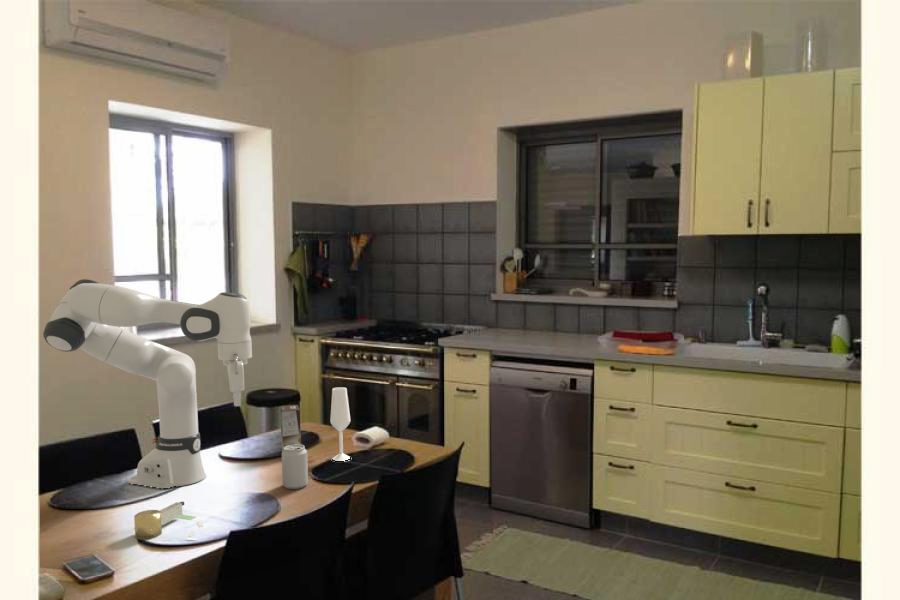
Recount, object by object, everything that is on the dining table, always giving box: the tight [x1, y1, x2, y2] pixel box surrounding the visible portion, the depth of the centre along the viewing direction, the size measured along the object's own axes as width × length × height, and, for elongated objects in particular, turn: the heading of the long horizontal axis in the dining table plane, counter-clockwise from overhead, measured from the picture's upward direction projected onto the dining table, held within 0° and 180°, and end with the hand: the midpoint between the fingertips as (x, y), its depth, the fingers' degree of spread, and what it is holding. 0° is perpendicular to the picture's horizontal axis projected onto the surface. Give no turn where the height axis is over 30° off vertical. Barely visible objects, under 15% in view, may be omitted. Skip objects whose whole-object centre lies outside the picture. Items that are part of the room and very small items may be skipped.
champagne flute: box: [329, 386, 351, 462], centre depth 233 cm, size 7×7×24 cm
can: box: [281, 444, 309, 490], centre depth 207 cm, size 8×8×12 cm
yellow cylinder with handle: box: [133, 501, 185, 540], centre depth 173 cm, size 15×6×5 cm, turn 161°
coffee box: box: [279, 404, 302, 453], centre depth 241 cm, size 9×6×16 cm
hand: (237, 402), depth 189 cm, fingers open, 8 cm apart
